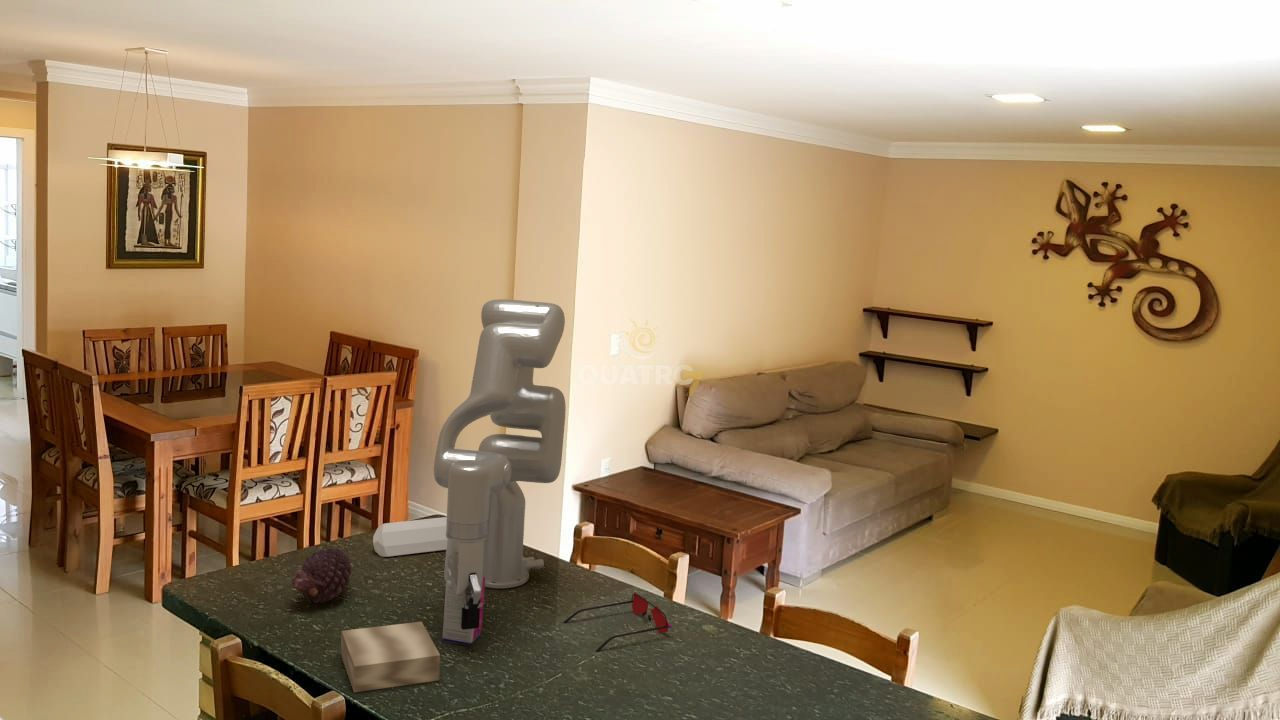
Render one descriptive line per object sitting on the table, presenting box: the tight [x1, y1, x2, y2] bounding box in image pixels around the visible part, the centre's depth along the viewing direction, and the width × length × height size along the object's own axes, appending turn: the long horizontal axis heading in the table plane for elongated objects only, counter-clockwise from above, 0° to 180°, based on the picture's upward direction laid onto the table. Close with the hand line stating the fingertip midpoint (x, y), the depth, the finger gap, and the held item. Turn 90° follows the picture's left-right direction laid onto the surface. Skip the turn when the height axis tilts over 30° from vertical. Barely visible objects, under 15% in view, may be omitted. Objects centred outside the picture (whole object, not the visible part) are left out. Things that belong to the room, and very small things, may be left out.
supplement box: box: [441, 577, 486, 646], centre depth 184 cm, size 6×6×12 cm
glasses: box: [562, 592, 672, 653], centre depth 192 cm, size 14×16×5 cm
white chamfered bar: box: [372, 516, 448, 558], centre depth 229 cm, size 7×7×24 cm
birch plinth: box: [340, 621, 441, 693], centre depth 171 cm, size 14×14×4 cm
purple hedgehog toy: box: [291, 547, 352, 604], centre depth 197 cm, size 18×10×10 cm, turn 169°
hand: (462, 617), depth 184 cm, fingers open, 9 cm apart
